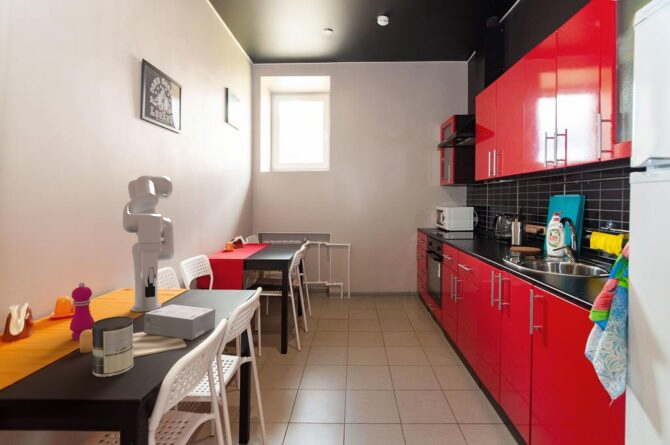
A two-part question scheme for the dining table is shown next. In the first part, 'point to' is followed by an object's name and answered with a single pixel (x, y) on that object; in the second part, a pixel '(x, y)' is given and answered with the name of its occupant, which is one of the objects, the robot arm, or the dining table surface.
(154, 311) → the hard drive box
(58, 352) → the dining table surface
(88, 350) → the salt shaker
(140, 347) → the board
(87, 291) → the pepper mill
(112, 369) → the coffee can
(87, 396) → the dining table surface
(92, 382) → the dining table surface
